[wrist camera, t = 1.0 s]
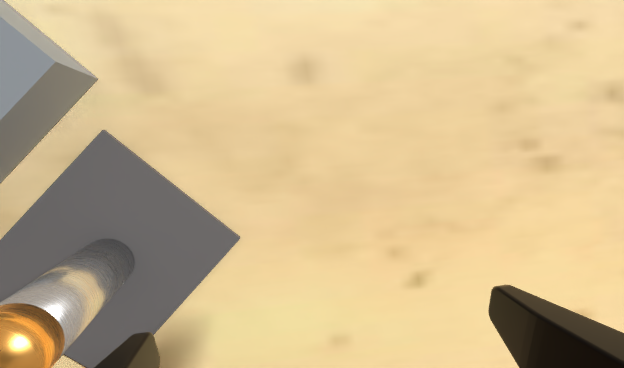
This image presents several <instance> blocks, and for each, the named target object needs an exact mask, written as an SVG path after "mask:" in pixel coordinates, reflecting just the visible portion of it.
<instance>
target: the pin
mask: <svg viewBox="0 0 624 368" xmlns="http://www.w3.org/2000/svg"><path fill="white" fill-rule="evenodd" d="M134 266H135V259H134V255H133V253H132V251H131V250H130V248H129V247H128V246H127V245H125V244H124V243H122V242H120V241H118V240H115V239H109V238H105V239H99V240H96V241H93V242H91V243H90V244H88V245H87V246H85V247H84V248H82V249H81V250H79V251H77V252H76V253H74V254H73V255H71V256H70V257H68V258H67V259H65V260H64V261H62V262H61V263H59V264H58V265H56V266H55V267H53V268H52V269H50V270H49V271H47V272H46V273H44V274H43V275H41V276H40V277H38V278H37V279H35V280H34V281H32V282H31V283H29V284H28V285H26V286H25V287H23V288H22V289H20V290H19V291H17V292H16V293H14V294H13V295H11V296H10V297H8V298H6V299H5V300H3V301H2V302H0V368H52V367H53V365H54V364H55V363H56V362H57V361H58V360H59V358H60V357H61V356H62V355H63V354H64V353H65V351H66V350H67V349H68V348H69V347H70V346H71V344H72V343H73V342H74V341H75V340H76V339H77V337H78V336H79V335H80V334H81V333H82V332H83V330H84V329H85V328H86V327H87V326H88V325H89V323H90V322H91V321H92V320H93V319H94V318H95V316H96V315H97V314H98V313H99V312H100V311H101V309H102V308H103V307H104V306H105V305H106V304H107V302H108V301H109V300H110V299H111V298H112V297H113V295H114V294H115V293H116V292H117V291H118V290H119V288H120V287H121V286H122V285H123V284H124V283H125V281H126V280H127V279H128V278H129V277H130V275H131V274H132V272H133V270H134Z"/></svg>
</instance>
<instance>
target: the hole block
mask: <svg viewBox="0 0 624 368" xmlns="http://www.w3.org/2000/svg"><path fill="white" fill-rule="evenodd" d="M97 80H98V78H97V77H95V76H94V75H93V74H92V73H91V72H89V71H88V70H87V69H86V68H85V67H83V66H82V65H81V64H80V63H79V62H77V61H76V60H75V59H74V58H73V57H71V56H70V55H69V54H68V53H67V52H65V51H64V50H63V49H62V48H60V47H59V46H58V45H57V44H56V43H54V42H53V41H52V40H51V39H50V38H48V37H47V36H46V35H45V34H44V33H42V32H41V31H40V30H39V29H38V28H36V27H35V26H34V25H33V24H32V23H30V22H29V21H28V20H27V19H26V18H24V17H23V16H22V15H21V14H20V13H18V12H17V11H16V10H15V9H14V8H12V7H11V6H10V5H9V4H8V3H6V2H5V1H4V0H0V183H1V182H2V181H3V180H4V179H5V178H6V177H7V176H8V175H9V174H10V173H11V171H12V170H13V169H14V168H15V167H16V166H17V165H18V164H19V163H20V162H21V161H22V160H23V159H24V158H25V156H26V155H27V154H28V153H29V152H30V151H31V150H32V149H33V148H34V147H35V146H36V145H37V144H38V143H39V142H40V140H41V139H42V138H43V137H44V136H45V135H46V134H47V133H48V132H49V131H50V130H51V129H52V128H53V127H54V126H55V124H56V123H57V122H58V121H59V120H60V119H61V118H62V117H63V116H64V115H65V114H66V113H67V112H68V111H69V110H70V108H71V107H72V106H73V105H74V104H75V103H76V102H77V101H78V100H79V99H80V98H81V97H82V96H83V95H84V93H85V92H86V91H87V90H88V89H89V88H90V87H91V86H92V85H93V84H94V83H95V82H96V81H97Z"/></svg>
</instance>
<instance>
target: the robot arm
mask: <svg viewBox="0 0 624 368" xmlns="http://www.w3.org/2000/svg"><path fill="white" fill-rule="evenodd" d="M489 316H490V319H491V321H492V323H493V324H494V326H495V328H496V329H497V331H498V333H499V334H500V336H501V338H502V339H503V341H504V343H505V344H506V346H507V348H508V350H509V351H510V353H511V355H512V356H513V358H514V360H515V361H516V363H517V365H518V366H519V368H624V333H622V332H620V331H617V330H615V329H613V328H610V327H608V326H606V325H603V324H601V323H598V322H596V321H594V320H591V319H589V318H587V317H584V316H582V315H579V314H577V313H575V312H572V311H570V310H568V309H565V308H563V307H561V306H558V305H556V304H553V303H551V302H549V301H546V300H544V299H542V298H539V297H537V296H534V295H532V294H530V293H527V292H525V291H523V290H520V289H518V288H515V287H513V286H511V285H501V286H495V287H493V289H492V291H491V298H490V304H489ZM159 365H160V357H159V353H158V349H157V346H156V342H155V339H154V336H153V334H152V333H151V332H143V333H136V334H133V335H132V336H130V337H129V338H128V339H127V340H125V341H124V342H123V343H122V344H121V345H120V346H118V347H117V348H116V349H115V350H114V351H113V352H111V353H110V354H109V355H108V356H107V357H105V358H104V359H103V360H102V361H101V362H100V363H98V364H97V365H96V366H95V367H94V368H159Z"/></svg>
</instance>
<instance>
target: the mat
mask: <svg viewBox="0 0 624 368" xmlns="http://www.w3.org/2000/svg"><path fill="white" fill-rule="evenodd" d="M105 238H109V239H115V240H118V241H120V242H122V243H124V244H125V245H127V246H128V247H129V248H130V250H131V251H132V253H133V255H134V259H135V266H134V270H133V272H132V274H131V275H130V277H129V278H128V279H127V280H126V281H125V283H124V284H123V285H122V286H121V287H120V288H119V290H118V291H117V292H116V293H115V294H114V295H113V297H112V298H111V299H110V300H109V301H108V302H107V304H106V305H105V306H104V307H103V308H102V309H101V311H100V312H99V313H98V314H97V315H96V316H95V318H94V319H93V320H92V321H91V322H90V323H89V325H88V326H87V327H86V328H85V329H84V330H83V332H82V333H81V334H80V335H79V336H78V337H77V339H76V340H75V341H74V342H73V343H72V344H71V346H70V347H69V348H68V349H67V350H66V351H65V353H64V355H66V356H67V357H69V358H71V359H73V360H74V361H76V362H78V363H80V364H81V365H83V366H85V367H87V368H94V367H95V366H96V365H97V364H98V363H100V362H101V361H102V360H103V359H104V358H105V357H107V356H108V355H109V354H110V353H111V352H113V351H114V350H115V349H116V348H117V347H118V346H120V345H121V344H122V343H123V342H124V341H125V340H127V339H128V338H129V337H130V336H132V335H133V334H136V333H143V332H151V333H152V334H153V335H154V334H155V333H156V332H157V330H158V329H159V328H160V327H161V326H162V325H163V324H164V323H165V322H166V320H167V319H168V318H169V317H170V316H171V315H172V314H173V313H174V311H175V310H176V309H177V308H178V307H179V306H180V305H181V304H182V303H183V301H184V300H185V299H186V298H187V297H188V296H189V295H190V294H191V293H192V291H193V290H194V289H195V288H196V287H197V286H198V285H199V284H200V283H201V281H202V280H203V279H204V278H205V277H206V276H207V275H208V274H209V273H210V271H211V270H212V269H213V268H214V267H215V266H216V265H217V264H218V263H219V261H220V260H221V259H222V258H223V257H224V256H225V255H226V254H227V252H228V251H229V250H230V249H231V248H232V247H233V246H234V245H235V244H236V242H237V241H238V240H239V239H240V237H239V236H238V235H237V234H236V233H234V232H233V231H232V230H231V229H229V228H228V227H227V226H226V225H224V224H223V223H222V222H221V221H219V220H218V219H217V218H215V217H214V216H213V215H212V214H210V213H209V212H208V211H207V210H205V209H204V208H203V207H202V206H200V205H199V204H198V203H197V202H195V201H194V200H193V199H191V198H190V197H189V196H188V195H186V194H185V193H184V192H183V191H181V190H180V189H179V188H178V187H176V186H175V185H174V184H172V183H171V182H170V181H169V180H167V179H166V178H165V177H164V176H162V175H161V174H160V173H159V172H157V171H156V170H155V169H154V168H152V167H151V166H150V165H148V164H147V163H146V162H145V161H143V160H142V159H141V158H140V157H138V156H137V155H136V154H135V153H133V152H132V151H131V150H129V149H128V148H127V147H126V146H124V145H123V144H122V143H121V142H119V141H118V140H117V139H116V138H114V137H113V136H112V135H111V134H109V133H108V132H107V131H105V130H102V131H101V132H100V133H99V135H98V136H97V137H96V138H95V139H94V140H93V141H92V142H91V143H90V144H89V145H88V146H87V147H86V149H85V150H84V151H83V152H82V153H81V154H80V155H79V156H78V157H77V158H76V159H75V160H74V161H73V163H72V164H71V165H70V166H69V167H68V168H67V169H66V170H65V171H64V172H63V173H62V174H61V175H60V176H59V178H58V179H57V180H56V181H55V182H54V183H53V184H52V185H51V186H50V187H49V188H48V189H47V190H46V192H45V193H44V194H43V195H42V196H41V197H40V198H39V199H38V200H37V201H36V202H35V203H34V204H33V206H32V207H31V208H30V209H29V210H28V211H27V212H26V213H25V214H24V215H23V216H22V217H21V218H20V220H19V221H18V222H17V223H16V224H15V225H14V226H13V227H12V228H11V229H10V230H9V231H8V232H7V233H6V235H5V236H4V237H3V238H2V239H1V240H0V302H2V301H3V300H5V299H6V298H8V297H10V296H11V295H13V294H14V293H16V292H17V291H19V290H20V289H22V288H23V287H25V286H26V285H28V284H29V283H31V282H32V281H34V280H35V279H37V278H38V277H40V276H41V275H43V274H44V273H46V272H47V271H49V270H50V269H52V268H53V267H55V266H56V265H58V264H59V263H61V262H62V261H64V260H65V259H67V258H68V257H70V256H71V255H73V254H74V253H76V252H77V251H79V250H81V249H82V248H84V247H85V246H87V245H88V244H90V243H91V242H93V241H96V240H99V239H105Z"/></svg>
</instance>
